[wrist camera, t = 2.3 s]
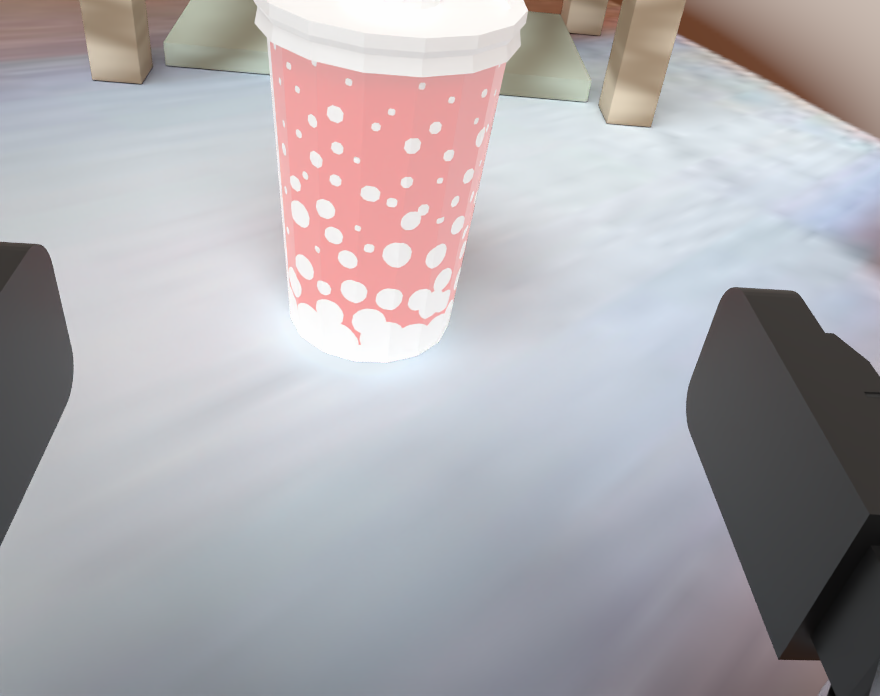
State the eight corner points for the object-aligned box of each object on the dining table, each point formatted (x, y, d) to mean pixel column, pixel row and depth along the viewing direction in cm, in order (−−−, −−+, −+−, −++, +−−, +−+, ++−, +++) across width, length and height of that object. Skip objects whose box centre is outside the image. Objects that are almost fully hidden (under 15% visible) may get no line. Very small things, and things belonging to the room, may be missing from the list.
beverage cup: (502, 371, 23) (630, -262, 14) (275, 393, 21) (258, -309, 12) (443, 249, 27) (512, -286, 18) (252, 260, 26) (229, -322, 17)
